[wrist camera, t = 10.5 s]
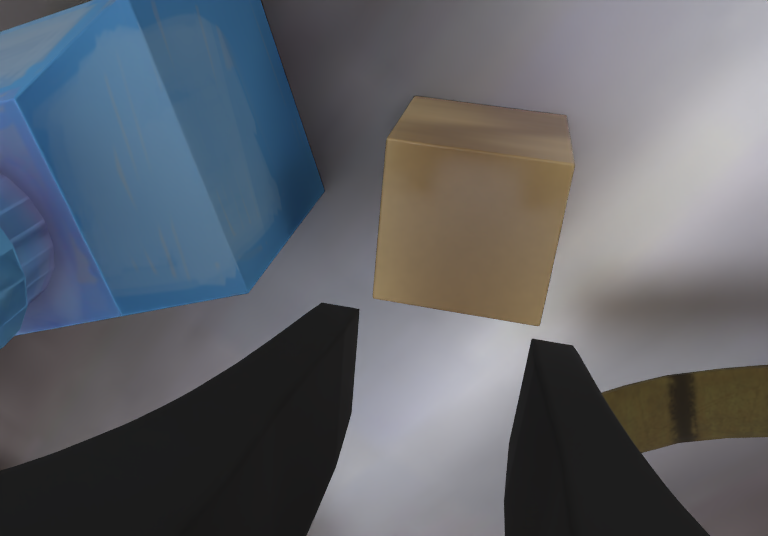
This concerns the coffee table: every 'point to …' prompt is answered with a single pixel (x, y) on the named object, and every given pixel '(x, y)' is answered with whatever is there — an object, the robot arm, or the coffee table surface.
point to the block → (472, 208)
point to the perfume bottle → (143, 160)
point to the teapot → (693, 406)
